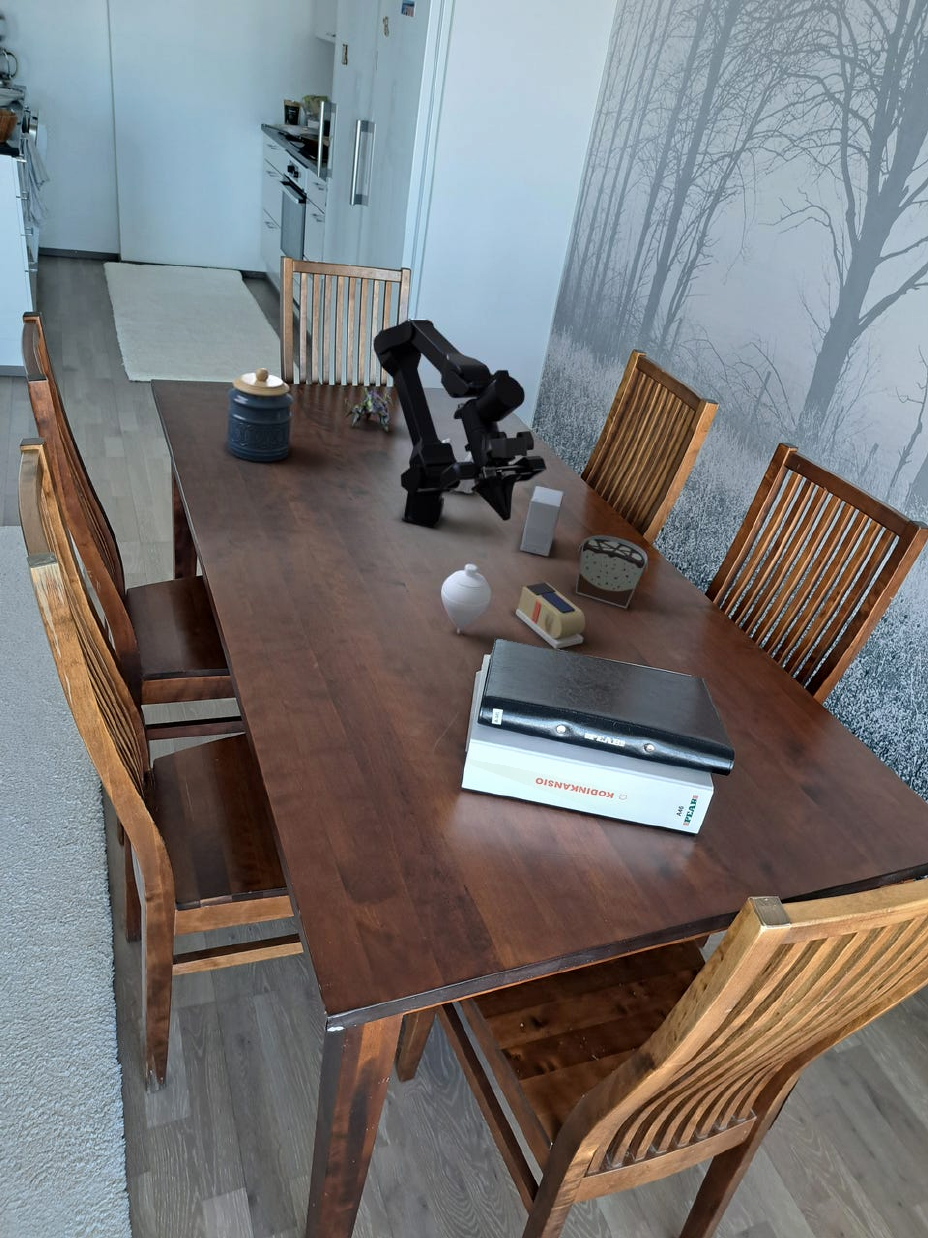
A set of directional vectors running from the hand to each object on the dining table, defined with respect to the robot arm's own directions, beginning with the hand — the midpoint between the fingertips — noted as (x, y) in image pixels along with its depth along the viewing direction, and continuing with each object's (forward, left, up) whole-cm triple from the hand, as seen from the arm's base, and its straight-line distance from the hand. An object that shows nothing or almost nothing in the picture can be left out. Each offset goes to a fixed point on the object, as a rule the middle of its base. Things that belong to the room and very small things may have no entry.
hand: (507, 519), depth 152 cm
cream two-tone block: (+7, -7, -9) cm, 14 cm away
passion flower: (-41, +61, -12) cm, 74 cm away
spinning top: (-3, -19, -12) cm, 23 cm away
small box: (+5, +19, -12) cm, 23 cm away
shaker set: (-16, +36, -12) cm, 41 cm away
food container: (+19, +6, -12) cm, 24 cm away
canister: (-57, +33, -12) cm, 66 cm away
